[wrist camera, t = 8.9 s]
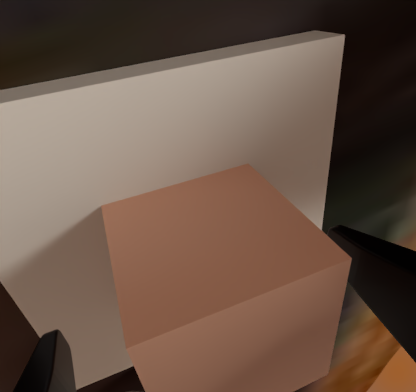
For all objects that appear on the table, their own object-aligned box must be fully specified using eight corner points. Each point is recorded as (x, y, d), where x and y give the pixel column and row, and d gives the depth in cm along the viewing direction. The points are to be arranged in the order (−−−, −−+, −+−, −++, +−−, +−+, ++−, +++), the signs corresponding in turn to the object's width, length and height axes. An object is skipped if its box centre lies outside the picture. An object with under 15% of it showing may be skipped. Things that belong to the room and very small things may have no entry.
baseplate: (314, 30, 11) (344, 34, 10) (297, 270, 18) (314, 290, 17) (-85, 106, 8) (-110, 125, 7) (75, 358, 15) (76, 389, 14)
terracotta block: (247, 163, 11) (352, 258, 7) (252, 265, 14) (327, 374, 10) (101, 205, 10) (125, 349, 6) (138, 308, 13) (172, 451, 9)
